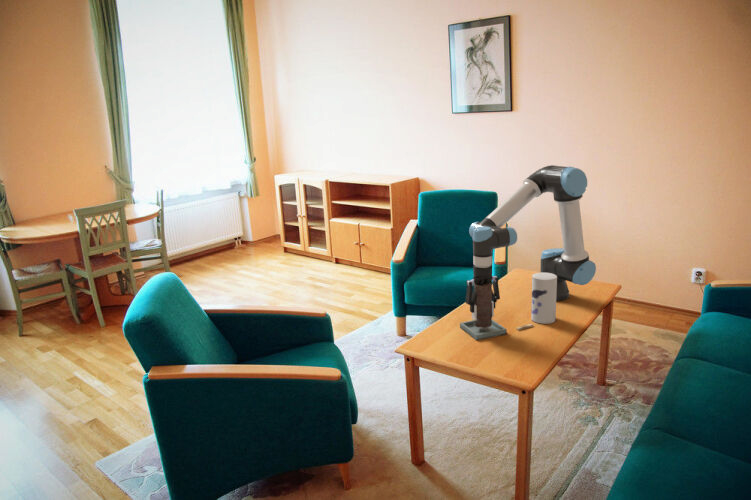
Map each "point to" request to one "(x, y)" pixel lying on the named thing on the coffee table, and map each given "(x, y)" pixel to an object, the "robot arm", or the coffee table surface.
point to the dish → (483, 330)
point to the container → (544, 297)
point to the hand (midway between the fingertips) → (482, 317)
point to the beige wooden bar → (524, 327)
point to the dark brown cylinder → (484, 305)
